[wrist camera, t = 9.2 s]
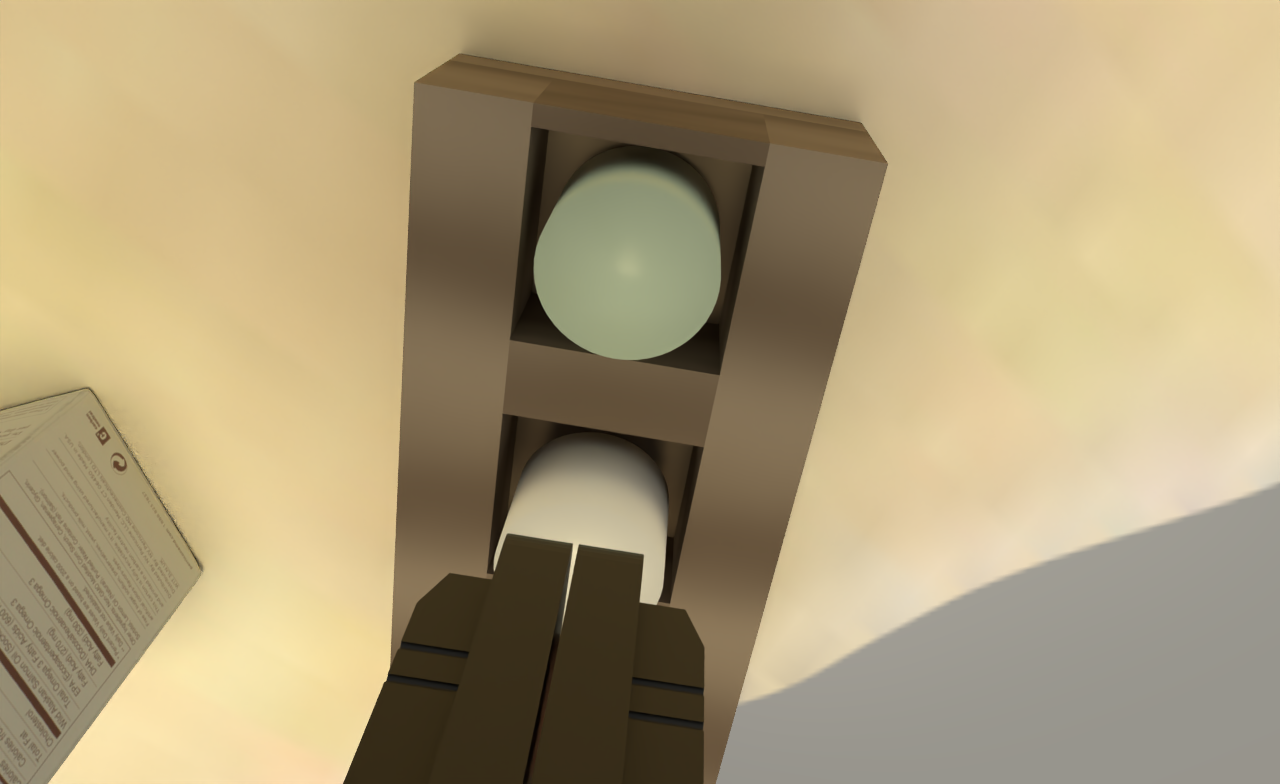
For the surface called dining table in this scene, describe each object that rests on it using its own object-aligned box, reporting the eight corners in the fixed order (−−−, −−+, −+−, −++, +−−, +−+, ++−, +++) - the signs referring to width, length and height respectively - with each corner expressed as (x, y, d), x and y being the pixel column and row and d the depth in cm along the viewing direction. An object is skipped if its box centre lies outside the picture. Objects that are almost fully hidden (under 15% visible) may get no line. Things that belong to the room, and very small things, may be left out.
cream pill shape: (525, 420, 24) (501, 490, 21) (681, 446, 24) (677, 519, 21) (511, 546, 26) (487, 625, 23) (656, 570, 26) (649, 651, 23)
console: (459, 53, 23) (413, 82, 20) (861, 123, 23) (888, 163, 20) (422, 659, 33) (386, 752, 29) (709, 706, 33) (709, 805, 29)
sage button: (565, 132, 22) (544, 167, 19) (734, 161, 22) (738, 200, 19) (547, 290, 24) (524, 343, 21) (703, 317, 24) (701, 373, 21)
